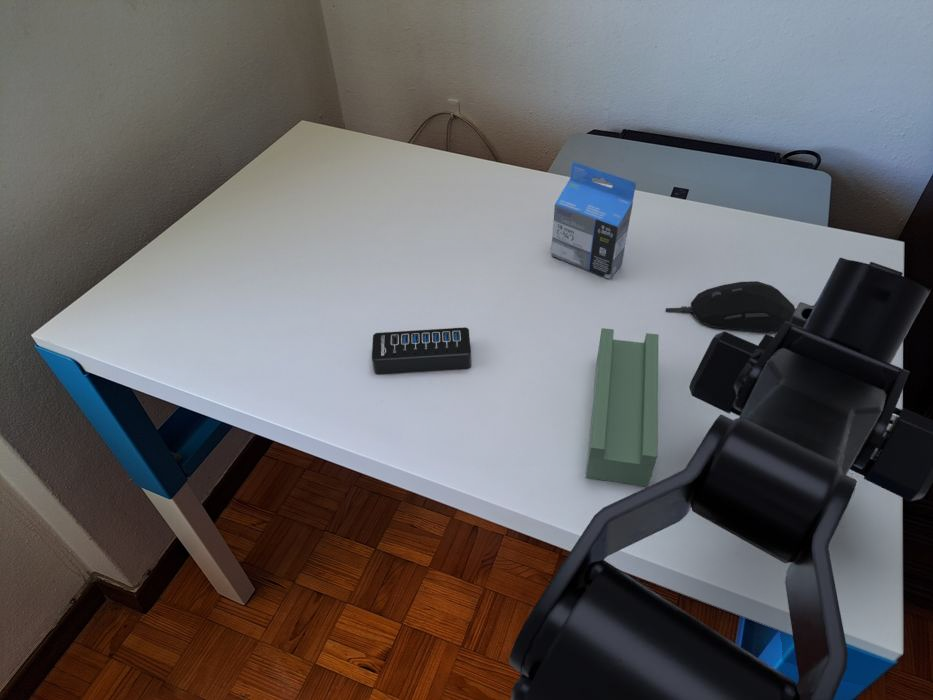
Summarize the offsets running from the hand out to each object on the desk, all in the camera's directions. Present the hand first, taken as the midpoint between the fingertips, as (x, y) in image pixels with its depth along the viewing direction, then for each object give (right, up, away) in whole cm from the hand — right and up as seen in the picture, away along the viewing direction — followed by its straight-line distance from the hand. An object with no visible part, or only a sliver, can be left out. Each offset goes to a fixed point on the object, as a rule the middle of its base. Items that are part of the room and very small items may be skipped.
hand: (812, 410), depth 63 cm
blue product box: (-16, +17, +27) cm, 36 cm away
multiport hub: (-37, +5, +16) cm, 40 cm away
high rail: (-16, -2, +8) cm, 18 cm away
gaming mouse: (-1, +10, +19) cm, 21 cm away
